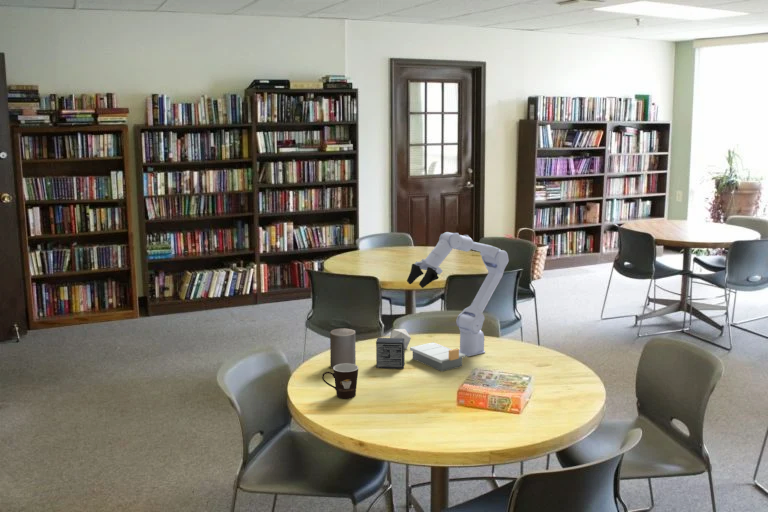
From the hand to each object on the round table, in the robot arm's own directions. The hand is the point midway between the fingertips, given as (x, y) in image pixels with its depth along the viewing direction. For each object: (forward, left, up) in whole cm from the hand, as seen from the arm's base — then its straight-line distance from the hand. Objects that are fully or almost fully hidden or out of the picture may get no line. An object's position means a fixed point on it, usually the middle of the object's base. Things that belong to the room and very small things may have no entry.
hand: (414, 284), depth 282 cm
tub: (-10, +2, -32) cm, 33 cm away
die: (-9, -21, -32) cm, 39 cm away
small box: (+7, -5, -32) cm, 33 cm away
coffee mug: (+38, +10, -32) cm, 51 cm away
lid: (-10, +2, -28) cm, 30 cm away
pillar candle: (+22, -15, -32) cm, 42 cm away
